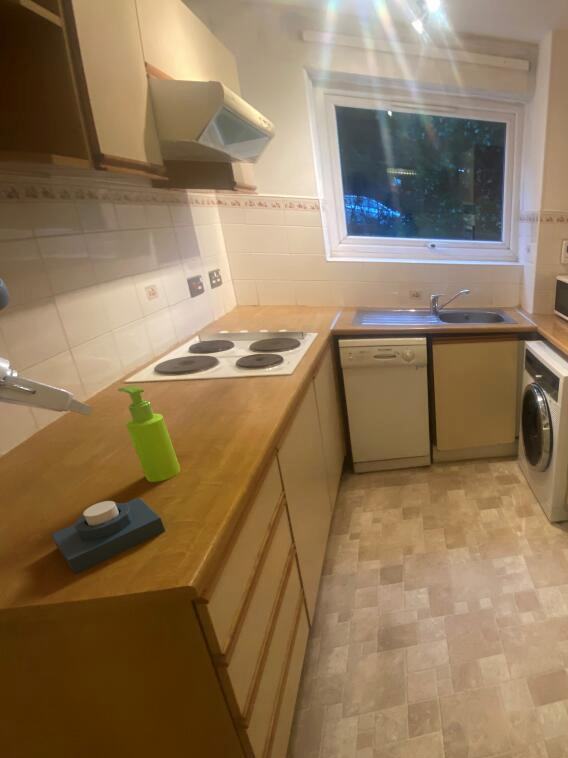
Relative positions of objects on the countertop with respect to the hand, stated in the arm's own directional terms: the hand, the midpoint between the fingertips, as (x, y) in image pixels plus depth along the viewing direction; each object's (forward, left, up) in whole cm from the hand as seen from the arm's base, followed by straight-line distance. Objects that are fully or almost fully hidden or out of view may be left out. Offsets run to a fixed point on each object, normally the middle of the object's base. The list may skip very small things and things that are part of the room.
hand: (79, 409), depth 83 cm
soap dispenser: (+8, -4, -17) cm, 20 cm away
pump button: (-5, -21, -13) cm, 25 cm away
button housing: (-5, -21, -17) cm, 27 cm away
